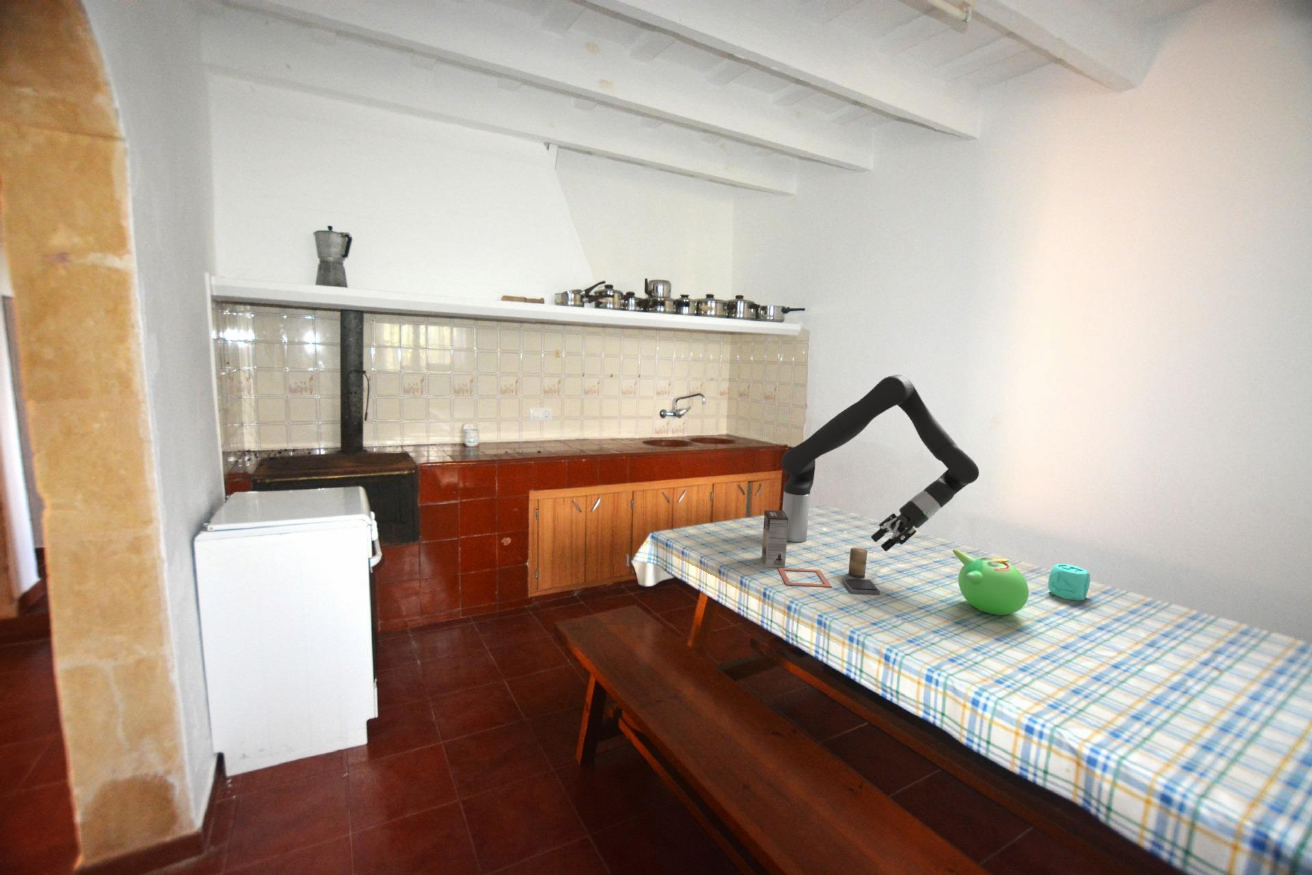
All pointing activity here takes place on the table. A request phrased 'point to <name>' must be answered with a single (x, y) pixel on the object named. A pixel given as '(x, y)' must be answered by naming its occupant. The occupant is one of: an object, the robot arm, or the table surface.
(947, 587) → the table surface
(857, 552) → the stamp
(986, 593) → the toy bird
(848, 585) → the ink pad
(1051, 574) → the decorative dice
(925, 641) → the table surface
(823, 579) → the marked square
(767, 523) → the coffee box
